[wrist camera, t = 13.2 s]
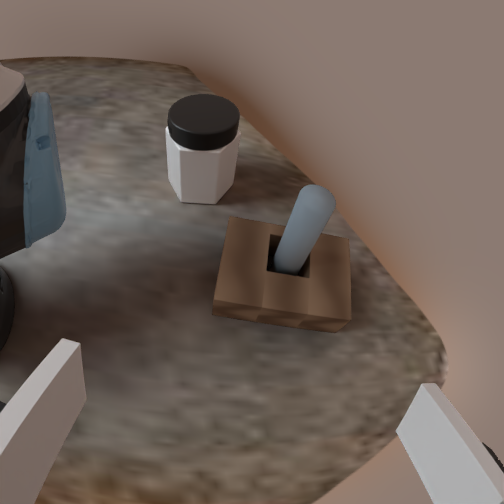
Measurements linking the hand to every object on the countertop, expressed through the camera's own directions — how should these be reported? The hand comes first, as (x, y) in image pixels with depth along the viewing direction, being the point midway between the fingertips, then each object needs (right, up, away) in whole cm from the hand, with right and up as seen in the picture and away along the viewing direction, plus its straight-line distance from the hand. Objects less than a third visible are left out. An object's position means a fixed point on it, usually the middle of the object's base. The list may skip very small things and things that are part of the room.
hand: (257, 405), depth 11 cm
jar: (-7, +15, +33) cm, 37 cm away
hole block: (+3, +2, +27) cm, 27 cm away
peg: (+3, +3, +28) cm, 28 cm away
